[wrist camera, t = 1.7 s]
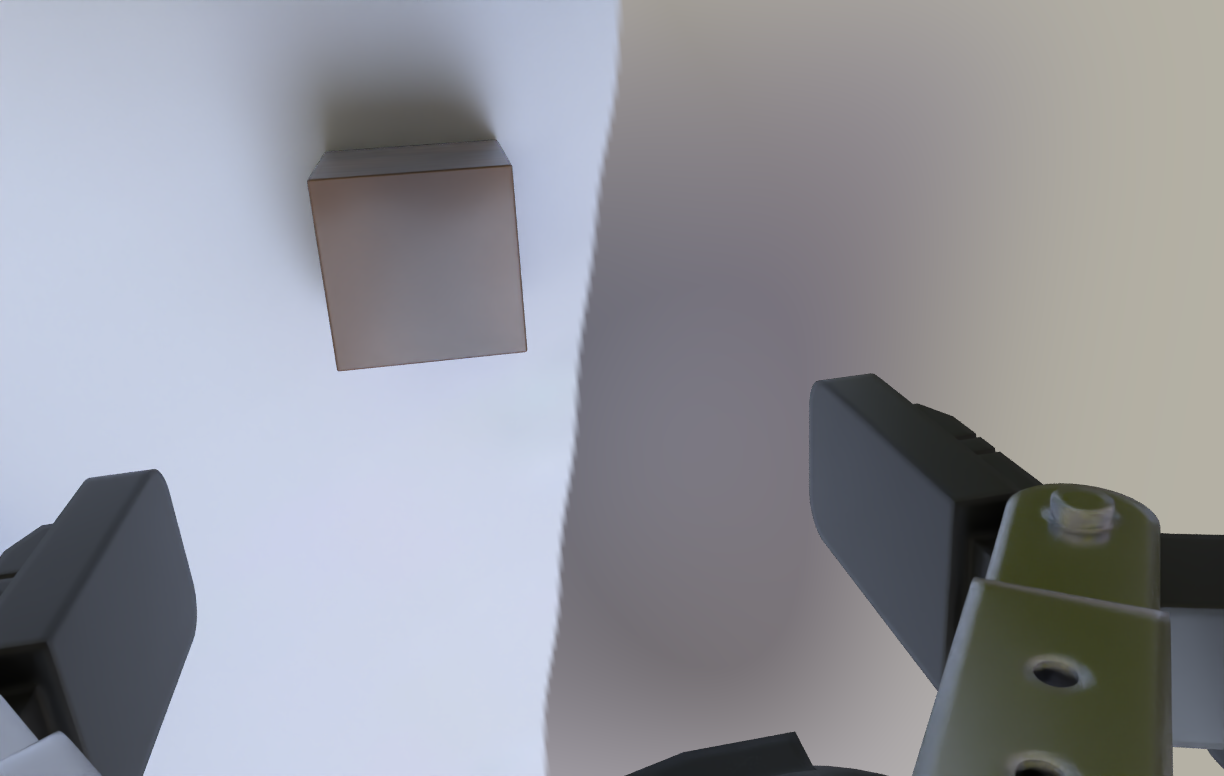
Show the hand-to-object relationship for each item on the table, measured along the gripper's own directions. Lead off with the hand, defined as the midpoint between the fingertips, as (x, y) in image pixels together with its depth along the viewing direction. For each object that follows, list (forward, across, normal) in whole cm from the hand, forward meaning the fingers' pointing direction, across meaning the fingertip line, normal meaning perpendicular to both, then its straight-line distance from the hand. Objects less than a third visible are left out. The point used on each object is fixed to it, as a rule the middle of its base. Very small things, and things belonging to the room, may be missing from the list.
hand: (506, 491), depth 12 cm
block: (+17, +1, 0) cm, 17 cm away
